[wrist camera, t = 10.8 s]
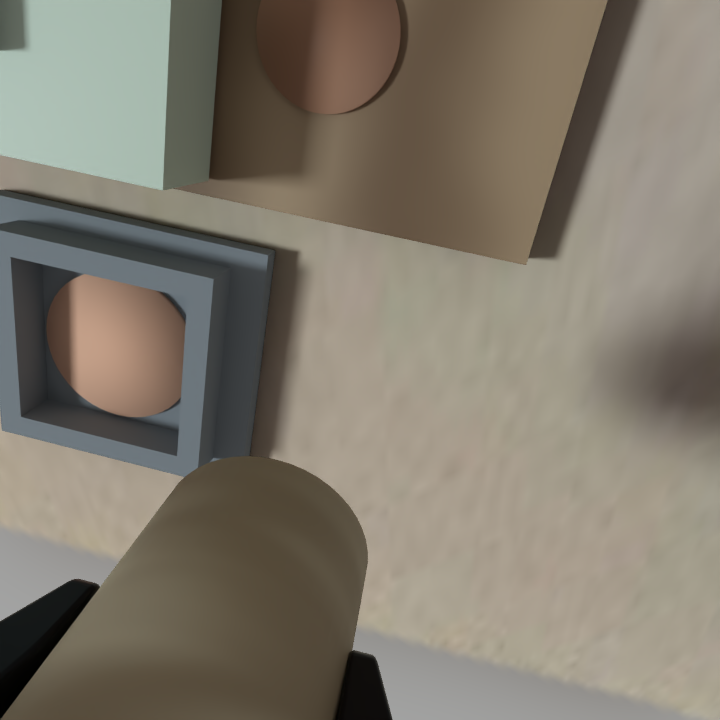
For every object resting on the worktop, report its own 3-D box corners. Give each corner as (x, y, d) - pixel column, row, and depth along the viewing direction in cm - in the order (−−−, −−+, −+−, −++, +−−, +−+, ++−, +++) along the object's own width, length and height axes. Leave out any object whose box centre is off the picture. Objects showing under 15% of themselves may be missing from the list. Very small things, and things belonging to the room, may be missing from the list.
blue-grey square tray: (275, 250, 19) (253, 265, 17) (247, 468, 23) (226, 503, 21) (1, 189, 20) (-52, 197, 18) (16, 410, 23) (-27, 438, 21)
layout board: (641, -133, 14) (657, -155, 13) (522, 258, 18) (526, 266, 17) (-96, -255, 15) (-138, -284, 14) (-56, 133, 19) (-86, 133, 18)
